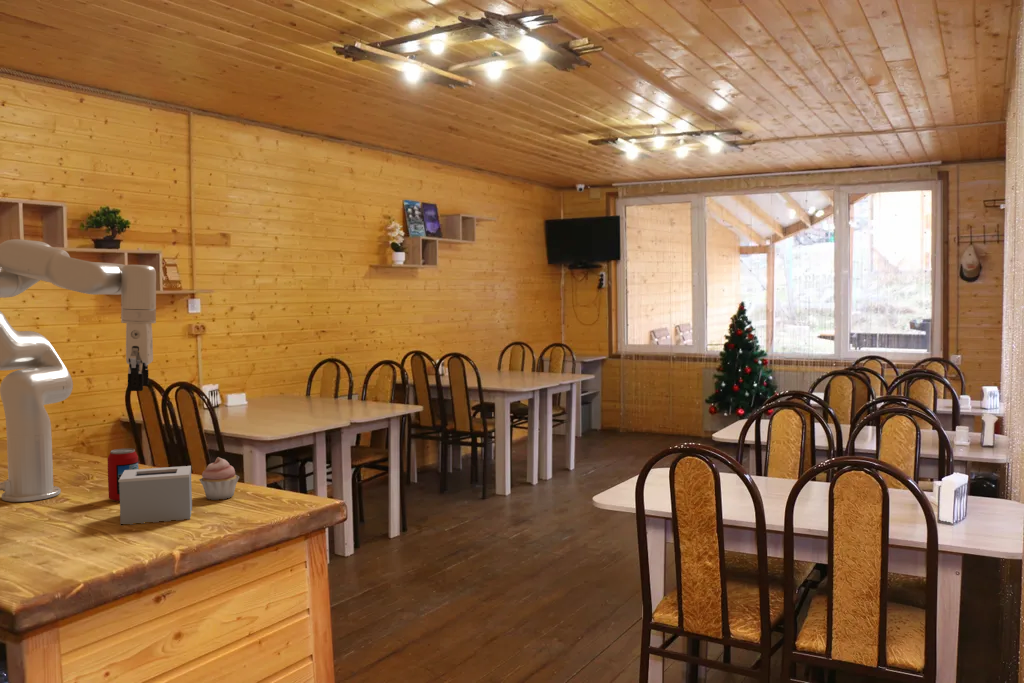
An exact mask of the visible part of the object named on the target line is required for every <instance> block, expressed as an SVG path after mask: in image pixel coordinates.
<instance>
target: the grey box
mask: <svg viewBox="0 0 1024 683" xmlns="http://www.w3.org/2000/svg"><path fill="white" fill-rule="evenodd" d="M119 490H120V502H119V517H120V518H119V520H120V521H119V522H120V525H121V524H130V525H134V524H133V523H141V524H145V523H144V522H153V523H160V522H159V521H164V522H172V521H171V520H176V521H184V519H187V520H191V518H190V517H192V512H191V511H193V495H192V494H193V491H192V490H193V488H192V465H187V466H186V465H181V466H170V467H166V466H165V467H153V468H138V469H135V470H124V472H123V474H122V476H121V477H120V479H119Z"/></svg>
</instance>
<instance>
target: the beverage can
mask: <svg viewBox="0 0 1024 683" xmlns="http://www.w3.org/2000/svg"><path fill="white" fill-rule="evenodd" d="M135 469H139V456H138V454H137V451H136V450H135V448H131V447H130V448H128V447H127V448H126V447H125V448H116V449H112V450H111V451H110V453H109V455H108V457H107V486H108V487H107V488H108V489H107V490H108V499H110V500H112V501H113V502H116V501H120V490H119V479H120V477H121V476H122V474H123V472H124V470H135Z"/></svg>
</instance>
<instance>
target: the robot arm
mask: <svg viewBox="0 0 1024 683" xmlns="http://www.w3.org/2000/svg"><path fill="white" fill-rule="evenodd" d="M40 281H43V282H45V283H47V282H48V283H50V284H52V285H54V286H56V287H59V288H61V289H66V290H70V291H73V292H77V293H81V294H86V295H109V296H111V295H112V296H113V295H117V296H119V295H121V296H120V300H121V302H120V305H121V306H120V307H121V310H120V311H121V312H120V317H121V319H120V320H121V321H120V322H121V323H122V324H126V325H125V357H126V358H125V359H126V362H125V363H126V364H127V365H128V370H127V391H129V392H142V391H143V390H144V387H147V386H149V365H150V364H151V363H152V362H153V361H154V347H153V346H154V345H153V324H156V323H157V316H156V315H157V272H156V268H155V267H154V266H152V265H145V264H122V263H114V262H98V261H96V262H95V261H90V260H83V259H79V258H75V257H71V256H70V254H69V253H68V251H66V250H65V249H62V248H58V247H53V246H51V245H50V244H48V243H47V242H44V241H39V240H32V239H31V240H30V239H20V238H19V239H17V238H16V239H15V238H14V239H13V238H12V239H7V240H5V241H3V242H1V243H0V298H3V299H6V298H13V297H16V296H19V295H21V294H22V293H24V292H25V291H27V290H28V289H30V288H31V287H32V286H34V285H36V284H38V282H40ZM0 371H12V372H10V373H8V374H7V375H5V377H4V378H3V379H2V381H1V383H0V399H1V403H2V407H3V410H4V416H5V426H6V428H5V429H6V430H5V431H6V453H7V476H8V477H7V479H6V480H3V481H0V491H3V493H1V500H2V501H5V502H12V503H15V502H16V503H18V502H19V503H20V502H33V501H39V500H45V499H50V498H53V497H56V496H58V495H60V494H61V493H62V492H61V490H62V489H61V488H60V487H59V486H54V469H53V468H54V466H53V441H52V440H53V439H52V438H53V437H52V434H53V433H52V423H51V422H52V421H51V418H50V416H49V414H48V412H47V410H46V408H45V406H46V405H50V404H56V403H60V402H63V401H65V400H67V399H68V398H69V397H70V396H71V394H72V393H73V389H74V382H73V378H72V376H71V373H70V372H69V370H68V367H67V366H66V365H65V363H64V362H63V360H62V359H61V357H60V355H59V354H58V352H57V351H56V349H55V347H54V346H53V345H52V343H51V342H50V340H49V339H48V338H47V337H46V336H44V335H43V334H41V333H40V332H37V331H32V330H24V331H23V330H21V331H19V330H16V329H14V327H13V326H12V325H11V323H9V321H8V319H7V318H6V315H5V314H4V313H3V312H2V310H0Z"/></svg>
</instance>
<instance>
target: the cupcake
mask: <svg viewBox="0 0 1024 683" xmlns="http://www.w3.org/2000/svg"><path fill="white" fill-rule="evenodd" d="M235 470H236V469H235V468H234V466H232V465H230V463H229V462H228V460H226V459H225V458H221V457H219V456H218V457H216V459H215V461H214V462H211V463H209V464H208V465H207V466H206V468H205V469H204V470H203V471H202V474H201V478H199V479H198V481H199V482H200V483H201V485H202V488H203V490H204V493H205V494H204V495H205V497H206V499H208V500H210V499H211V501H220V500H219V499H223V500H227V498H228V499H230V497H231V498H233V497H232V496H234V495H235V490H236V487H237V483H238V481H239V479H240V476H239V475H237V474H236V471H235Z"/></svg>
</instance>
